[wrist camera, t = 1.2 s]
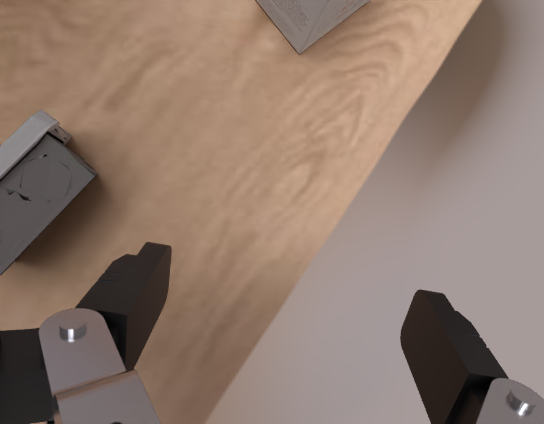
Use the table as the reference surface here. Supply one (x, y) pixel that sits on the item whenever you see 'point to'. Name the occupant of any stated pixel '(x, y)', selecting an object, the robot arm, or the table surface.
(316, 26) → the small box
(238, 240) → the table surface
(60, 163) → the electrical switch
